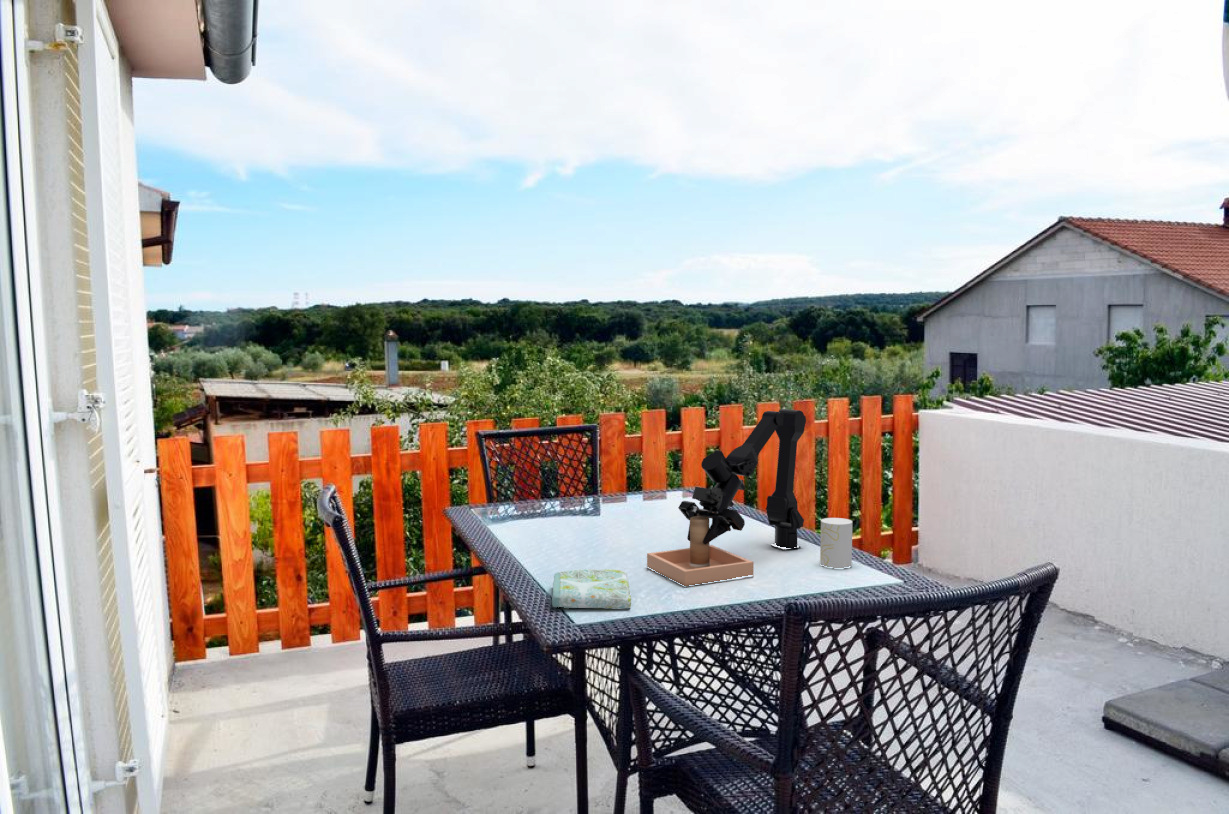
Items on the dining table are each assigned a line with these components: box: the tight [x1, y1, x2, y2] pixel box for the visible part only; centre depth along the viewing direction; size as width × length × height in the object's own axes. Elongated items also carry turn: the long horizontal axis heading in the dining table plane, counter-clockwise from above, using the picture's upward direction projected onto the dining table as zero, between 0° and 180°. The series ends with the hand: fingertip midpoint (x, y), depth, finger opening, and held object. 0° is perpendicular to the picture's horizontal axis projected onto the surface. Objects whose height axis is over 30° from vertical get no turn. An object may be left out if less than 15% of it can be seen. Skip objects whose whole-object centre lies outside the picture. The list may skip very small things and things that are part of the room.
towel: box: [551, 568, 632, 609], centre depth 221 cm, size 18×21×5 cm
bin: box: [646, 544, 755, 586], centre depth 242 cm, size 20×20×4 cm
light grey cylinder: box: [819, 517, 853, 568], centre depth 248 cm, size 8×8×12 cm
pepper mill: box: [689, 516, 710, 568], centre depth 242 cm, size 5×5×12 cm
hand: (696, 541), depth 241 cm, fingers closed on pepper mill, 5 cm apart
